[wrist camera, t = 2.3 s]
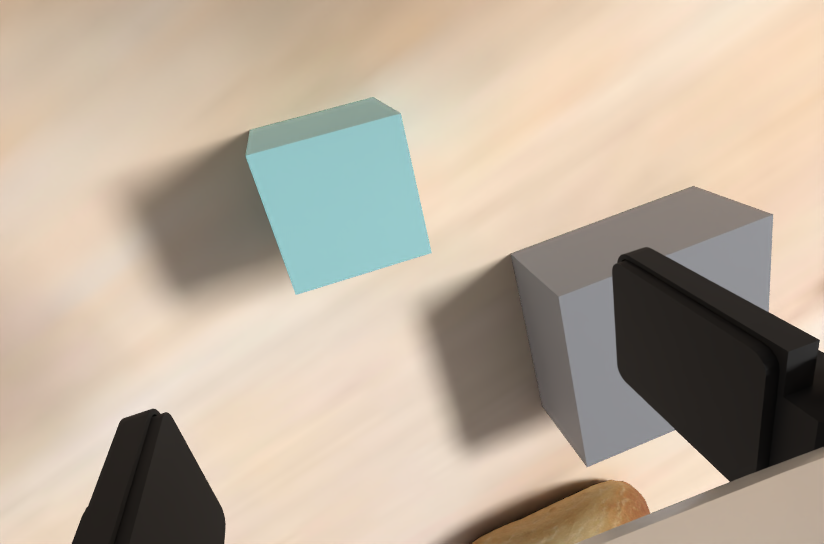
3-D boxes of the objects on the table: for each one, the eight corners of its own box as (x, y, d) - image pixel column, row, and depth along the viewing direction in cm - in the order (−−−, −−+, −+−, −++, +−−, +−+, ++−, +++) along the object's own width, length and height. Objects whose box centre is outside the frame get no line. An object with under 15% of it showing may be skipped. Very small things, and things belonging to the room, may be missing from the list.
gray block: (508, 251, 31) (558, 296, 26) (690, 184, 32) (773, 214, 27) (540, 404, 37) (587, 467, 31) (694, 341, 38) (764, 392, 33)
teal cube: (249, 129, 25) (245, 155, 20) (372, 96, 26) (400, 113, 20) (290, 244, 28) (295, 294, 22) (400, 211, 28) (431, 252, 23)
